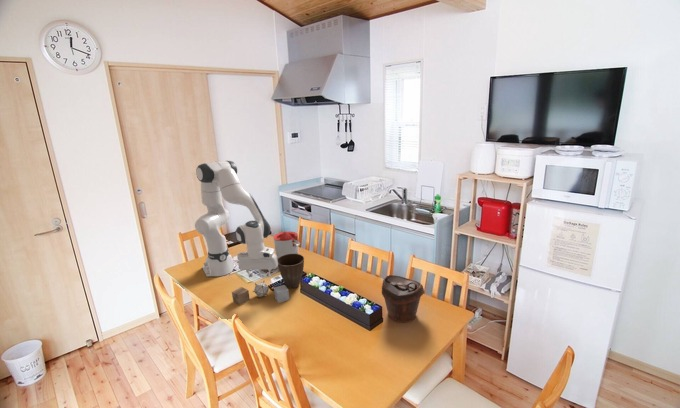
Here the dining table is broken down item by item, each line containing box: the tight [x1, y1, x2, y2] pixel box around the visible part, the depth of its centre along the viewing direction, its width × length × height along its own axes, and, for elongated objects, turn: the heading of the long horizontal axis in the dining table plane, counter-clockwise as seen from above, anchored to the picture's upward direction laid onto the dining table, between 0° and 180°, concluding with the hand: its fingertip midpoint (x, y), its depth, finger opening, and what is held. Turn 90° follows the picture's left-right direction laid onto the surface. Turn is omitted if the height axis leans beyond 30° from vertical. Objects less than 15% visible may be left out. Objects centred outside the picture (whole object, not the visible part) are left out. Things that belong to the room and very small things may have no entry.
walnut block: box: [231, 286, 251, 306], centre depth 174 cm, size 6×6×6 cm
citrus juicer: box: [272, 231, 301, 259], centre depth 216 cm, size 16×17×20 cm
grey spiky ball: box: [252, 281, 271, 300], centre depth 177 cm, size 9×8×10 cm
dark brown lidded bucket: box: [381, 274, 425, 323], centre depth 154 cm, size 18×20×18 cm
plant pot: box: [277, 253, 305, 289], centre depth 185 cm, size 15×15×16 cm
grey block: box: [273, 284, 290, 304], centre depth 174 cm, size 6×6×6 cm
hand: (259, 276), depth 175 cm, fingers open, 8 cm apart
